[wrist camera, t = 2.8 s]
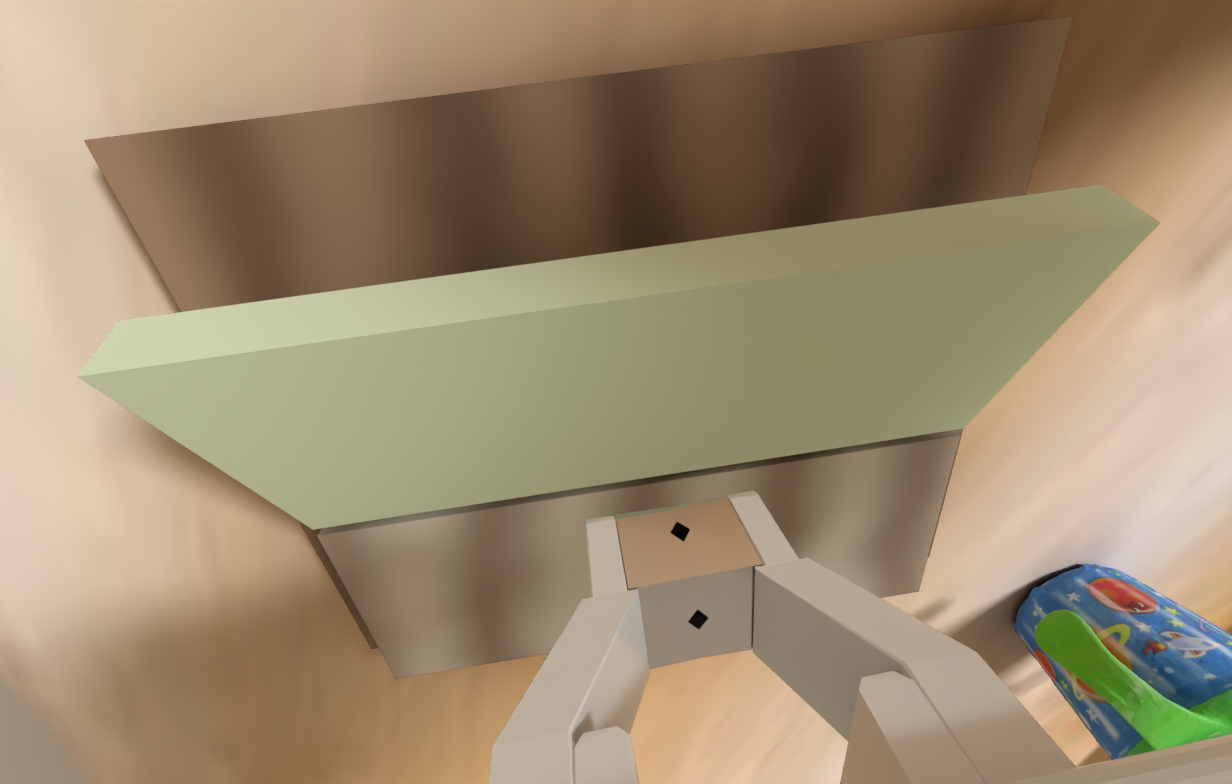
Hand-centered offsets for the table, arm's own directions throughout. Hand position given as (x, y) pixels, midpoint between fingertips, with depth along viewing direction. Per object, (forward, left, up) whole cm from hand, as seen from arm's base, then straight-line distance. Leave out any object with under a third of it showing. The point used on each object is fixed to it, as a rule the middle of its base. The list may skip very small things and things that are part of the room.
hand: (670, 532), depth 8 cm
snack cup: (-29, +25, -13) cm, 40 cm away
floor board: (-1, +4, -13) cm, 14 cm away
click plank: (-1, +1, -9) cm, 9 cm away
